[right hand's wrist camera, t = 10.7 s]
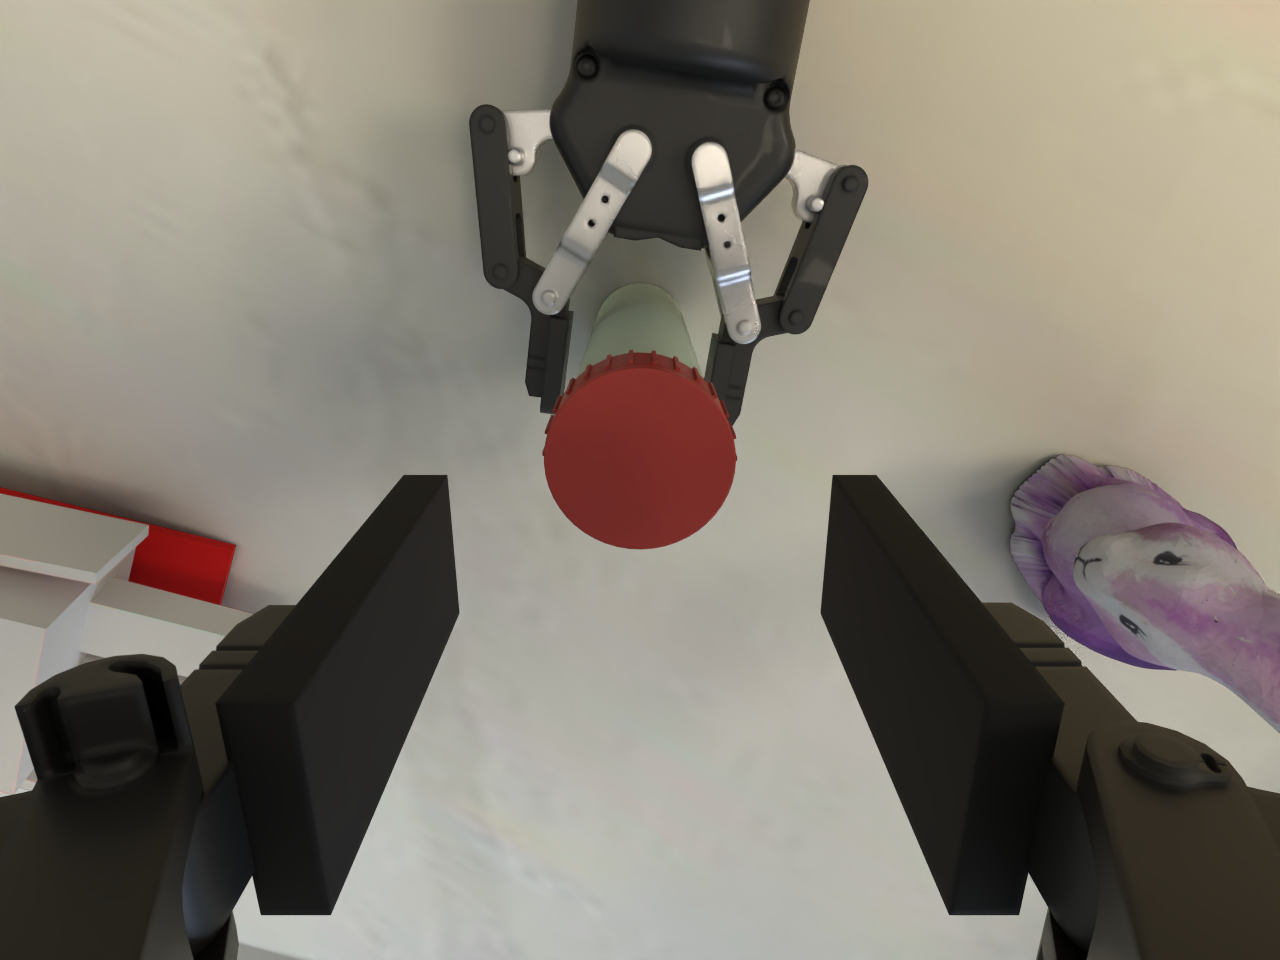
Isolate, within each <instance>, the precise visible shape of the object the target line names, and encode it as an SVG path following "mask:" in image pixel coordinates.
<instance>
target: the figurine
mask: <svg viewBox="0 0 1280 960" xmlns="http://www.w3.org/2000/svg"><path fill="white" fill-rule="evenodd" d="M1010 509H1011V512H1012V516H1013V519H1014V522H1015V529H1014V533H1013V534H1011V538H1010V552H1011V554H1012V557H1013V559H1014V561H1015V563H1016V565H1017V567H1018V570H1019V571H1020V572H1021V573H1022V575H1023V577H1024V579H1025V581H1026V582H1027V584H1028V585H1029V587H1030V588H1031V590H1032V591H1033V593H1034V594H1035V595H1036V596H1037V598H1038V599H1039V600H1040V601H1041V602H1042V603H1043V606H1044V608H1045V610H1046V612H1047V613H1048V615H1049V617H1050V618H1051V620H1052V621H1053V623H1054V624H1055V625H1056V626H1057V627H1058V628H1059V629H1060V630H1062V631H1063V632H1064V633H1065V634H1066V635H1068V636H1069V637H1070V638H1072V639H1074V640H1075V641H1077V642H1079V643H1080V644H1082V645H1084V646H1086V647H1088V648H1089V649H1091V650H1093V651H1095V652H1097V653H1100V654H1102V655H1104V656H1107V657H1109V658H1112V659H1115V660H1118V661H1121V662H1124V663H1127V664H1130V665H1133V666H1137V667H1142V668H1148V669H1160V670H1183V671H1189V672H1194V673H1199V674H1201V675H1204V676H1206V677H1209V678H1211V679H1213V680H1215V681H1217V682H1219V683H1220V684H1222V685H1224V686H1225V687H1227V688H1228V689H1230V690H1231V691H1232V692H1234V693H1235V694H1236V695H1237V696H1238V697H1240V698H1241V699H1242V700H1243V701H1244V702H1246V703H1247V704H1248V705H1249V706H1250V707H1251V708H1252V709H1254V710H1255V711H1256V712H1257V713H1258V714H1259V715H1260V716H1261V717H1262V718H1263V719H1264V720H1265V721H1267V722H1268V723H1269V724H1270V725H1271V726H1272V727H1273V728H1275V729H1276V730H1277V731H1278V732H1279V733H1280V595H1279V594H1277V593H1275V592H1273V591H1271V590H1269V589H1268V587H1267V586H1266V584H1265V582H1264V581H1263V579H1262V578H1261V576H1260V575H1259V574H1258V572H1257V571H1256V570H1255V569H1254V567H1253V566H1252V565H1251V563H1250V562H1249V561H1248V560H1247V559H1246V558H1245V556H1244V555H1243V554H1242V553H1240V552H1239V551H1238V549H1237V548H1236V546H1235V544H1234V542H1233V540H1232V539H1231V537H1230V536H1229V535H1228V533H1227V532H1226V531H1225V530H1224V529H1223V528H1221V527H1220V526H1219V525H1217V524H1216V523H1214V522H1213V521H1211V520H1209V519H1208V518H1206V517H1204V516H1202V515H1201V514H1198V513H1195V512H1192V511H1189V510H1186V509H1185V508H1183V507H1182V506H1181V505H1180V504H1179V502H1177V501H1176V500H1175V499H1174V498H1172V497H1171V496H1170V495H1168V494H1167V493H1166V492H1164V491H1163V490H1162V489H1161V488H1159V487H1158V486H1157V485H1156V484H1154V483H1152V482H1151V481H1150V480H1148V479H1146V478H1144V477H1143V476H1141V475H1140V474H1138V473H1136V472H1134V471H1132V470H1130V469H1127V468H1121V467H1115V466H1107V465H1106V466H1104V467H1101V466H1099V467H1096V466H1095V465H1094V464H1090V463H1089V462H1087V461H1085V460H1083V459H1081V458H1078V457H1075V456H1070V455H1059V456H1057V457H1056V458H1054V459H1050V461H1049V462H1046V464H1045V466H1042V467H1041V469H1040V470H1037V472H1036V473H1035V474H1033V475H1032V477H1029V478H1028V481H1025V482H1024V484H1022V485H1021V486H1020V487H1019V490H1017V491H1016V492H1015V495H1014V497H1013V498H1012V499H1011V507H1010Z"/></svg>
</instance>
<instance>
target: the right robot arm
mask: <svg viewBox="0 0 1280 960" xmlns="http://www.w3.org/2000/svg"><path fill="white" fill-rule="evenodd" d="M458 615H459V603H458V592H457V580H456V569H455V557H454V546H453V535H452V523H451V512H450V501H449V489H448V478H447V475H403V477H402V478H401V479H400V480H399V481H398V483H397V484H396V485H395V486H394V487H393V489H392V490H391V491H390V492H389V494H388V495H387V496H386V497H385V498H384V500H383V501H382V502H381V503H380V504H379V506H378V507H377V508H376V509H375V510H374V512H373V513H372V514H371V515H370V517H369V518H368V519H367V520H366V521H365V523H364V524H363V525H362V526H361V527H360V529H359V530H358V531H357V532H356V533H355V535H354V536H353V537H352V538H351V539H350V541H349V542H348V543H347V544H346V546H345V547H344V548H343V549H342V550H341V552H340V553H339V554H338V555H337V556H336V558H335V559H334V560H333V561H332V562H331V564H330V565H329V566H328V567H327V569H326V570H325V571H324V572H323V573H322V575H321V576H320V577H319V578H318V579H317V581H316V582H315V583H314V584H313V585H312V587H311V588H310V589H309V590H308V592H307V593H306V594H305V595H304V596H303V598H302V599H301V600H300V601H299V602H298V604H297V605H269V606H267V607H265V608H264V609H262V610H260V611H258V612H257V613H255V614H253V615H252V616H250V617H248V618H246V619H245V620H243V621H241V622H240V623H238V624H236V626H235V627H234V628H233V629H232V630H231V631H230V632H229V633H228V634H227V635H226V636H225V637H224V638H223V640H222V641H221V642H220V643H219V644H218V645H217V646H216V651H211V652H210V654H209V655H208V656H207V657H206V658H205V659H204V660H203V661H202V662H201V663H200V664H199V669H198V670H194V671H193V672H192V673H191V674H190V675H189V676H188V677H187V678H186V679H185V681H184V682H183V683H182V684H181V685H180V682H179V678H178V674H177V669H176V666H175V665H174V664H173V663H171V662H170V661H168V660H167V659H165V658H164V657H159V656H153V655H147V654H133V655H119V656H112V657H108V658H104V659H100V660H95V661H91V662H87V663H84V664H81V665H79V666H76V667H74V668H71V669H69V670H66V671H64V672H61V673H59V674H56V675H54V676H52V677H51V678H49V679H48V680H46V681H44V682H43V683H41V684H39V685H38V686H36V687H34V688H33V689H31V690H30V691H29V692H28V693H27V694H26V695H25V696H24V697H23V698H22V699H21V700H20V701H19V702H18V703H17V704H16V705H15V706H14V707H15V711H16V714H17V717H18V720H19V723H20V726H21V729H22V733H23V736H24V739H25V742H26V745H27V748H28V751H29V754H30V758H31V761H32V764H33V767H34V770H35V773H36V776H37V782H36V784H35V786H34V788H33V790H32V791H28V792H24V793H19V794H14V795H9V796H5V797H0V960H237V953H238V945H239V943H238V936H237V929H236V924H235V920H234V915H233V911H232V910H233V908H234V907H235V905H236V903H237V901H238V900H239V898H240V896H241V894H242V892H243V891H244V889H245V887H246V885H247V884H248V882H249V880H250V878H251V877H252V876H253V880H254V885H255V890H256V894H257V899H258V904H259V908H260V913H261V915H331V913H332V911H333V909H334V906H335V904H336V902H337V899H338V897H339V895H340V892H341V890H342V888H343V885H344V883H345V880H346V878H347V876H348V873H349V871H350V869H351V866H352V864H353V862H354V859H355V857H356V855H357V852H358V850H359V848H360V845H361V843H362V841H363V838H364V836H365V834H366V831H367V829H368V826H369V824H370V822H371V819H372V817H373V815H374V812H375V810H376V808H377V805H378V803H379V801H380V798H381V796H382V794H383V791H384V789H385V787H386V784H387V782H388V780H389V777H390V775H391V773H392V770H393V768H394V765H395V763H396V761H397V758H398V756H399V754H400V751H401V749H402V747H403V744H404V742H405V740H406V737H407V735H408V733H409V730H410V728H411V726H412V723H413V721H414V719H415V716H416V714H417V712H418V709H419V707H420V704H421V702H422V700H423V697H424V695H425V693H426V690H427V688H428V686H429V683H430V681H431V679H432V676H433V674H434V672H435V669H436V667H437V665H438V662H439V660H440V658H441V655H442V653H443V650H444V648H445V646H446V643H447V641H448V639H449V636H450V634H451V632H452V629H453V627H454V625H455V622H456V620H457V618H458ZM821 615H822V618H823V620H824V622H825V625H826V627H827V629H828V632H829V634H830V636H831V639H832V641H833V643H834V646H835V648H836V650H837V653H838V655H839V658H840V660H841V662H842V665H843V667H844V669H845V672H846V674H847V676H848V679H849V681H850V683H851V686H852V688H853V690H854V693H855V695H856V697H857V700H858V702H859V704H860V707H861V709H862V712H863V714H864V716H865V719H866V721H867V723H868V726H869V728H870V730H871V733H872V735H873V737H874V740H875V742H876V744H877V747H878V749H879V751H880V754H881V756H882V758H883V761H884V763H885V765H886V768H887V770H888V773H889V775H890V777H891V780H892V782H893V784H894V787H895V789H896V791H897V794H898V796H899V798H900V801H901V803H902V805H903V808H904V810H905V812H906V815H907V817H908V819H909V822H910V824H911V826H912V829H913V831H914V834H915V836H916V838H917V841H918V843H919V845H920V848H921V850H922V852H923V855H924V857H925V859H926V862H927V864H928V866H929V869H930V871H931V873H932V876H933V878H934V880H935V883H936V885H937V888H938V890H939V892H940V895H941V897H942V899H943V902H944V904H945V906H946V909H947V911H948V913H949V915H1019V913H1020V908H1021V904H1022V899H1023V894H1024V890H1025V885H1026V880H1027V876H1028V872H1029V874H1030V876H1031V878H1032V879H1033V881H1034V883H1035V885H1036V887H1037V888H1038V890H1039V892H1040V894H1041V895H1042V897H1043V899H1044V901H1045V902H1046V904H1047V906H1048V911H1047V915H1046V920H1045V924H1044V928H1043V933H1042V937H1041V941H1040V945H1039V950H1038V954H1037V958H1036V960H1280V794H1279V793H1274V792H1269V791H1264V790H1259V789H1255V788H1251V787H1247V786H1246V784H1245V782H1244V780H1243V779H1242V777H1241V776H1240V775H1239V774H1238V772H1237V771H1236V770H1235V769H1234V767H1233V766H1232V765H1231V764H1230V762H1229V761H1228V760H1226V759H1225V758H1224V757H1222V756H1221V755H1219V754H1218V753H1217V752H1215V751H1214V750H1212V749H1211V748H1209V747H1208V746H1207V745H1205V744H1203V743H1201V742H1199V741H1197V740H1195V739H1193V738H1191V737H1188V736H1186V735H1184V734H1182V733H1180V732H1178V731H1175V730H1171V729H1168V728H1164V727H1160V726H1157V725H1153V724H1149V723H1142V722H1137V721H1136V720H1135V719H1134V717H1133V716H1132V715H1131V714H1130V713H1129V712H1128V711H1127V710H1126V709H1125V708H1124V707H1123V706H1122V705H1121V704H1120V702H1119V701H1118V700H1117V699H1116V698H1115V697H1114V696H1113V695H1112V694H1111V693H1110V692H1109V691H1108V690H1107V689H1106V688H1105V686H1104V685H1103V684H1102V683H1101V682H1100V681H1099V680H1098V679H1097V678H1096V677H1095V676H1094V675H1093V674H1092V673H1091V671H1090V670H1089V669H1088V668H1087V667H1082V664H1081V661H1080V660H1079V659H1078V658H1077V656H1076V655H1075V654H1074V653H1073V652H1072V651H1071V650H1070V649H1069V648H1065V647H1064V643H1063V641H1062V640H1061V639H1060V638H1059V637H1058V636H1057V635H1056V634H1055V633H1054V632H1053V631H1052V630H1051V629H1050V628H1049V627H1048V625H1047V624H1046V623H1045V622H1044V621H1042V620H1040V619H1039V618H1037V617H1035V616H1033V615H1032V614H1030V613H1028V612H1027V611H1025V610H1023V609H1021V608H1020V607H1018V606H1016V605H1015V604H1013V603H982V602H981V601H980V600H979V599H978V598H977V596H976V595H975V594H974V593H973V592H972V590H971V589H970V588H969V587H968V585H967V584H966V583H965V582H964V581H963V579H962V578H961V577H960V576H959V575H958V573H957V572H956V571H955V570H954V569H953V567H952V566H951V565H950V564H949V562H948V561H947V560H946V559H945V558H944V556H943V555H942V554H941V553H940V552H939V550H938V549H937V548H936V547H935V546H934V544H933V543H932V542H931V541H930V539H929V538H928V537H927V536H926V535H925V533H924V532H923V531H922V530H921V529H920V527H919V526H918V525H917V524H916V523H915V521H914V520H913V519H912V518H911V517H910V515H909V514H908V513H907V512H906V510H905V509H904V508H903V507H902V506H901V504H900V503H899V502H898V501H897V500H896V498H895V497H894V496H893V495H892V494H891V492H890V491H889V490H888V489H887V487H886V486H885V485H884V484H883V483H882V481H881V480H880V479H879V478H878V477H877V475H833V478H832V489H831V501H830V512H829V523H828V535H827V546H826V557H825V569H824V580H823V592H822V603H821Z"/></svg>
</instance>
